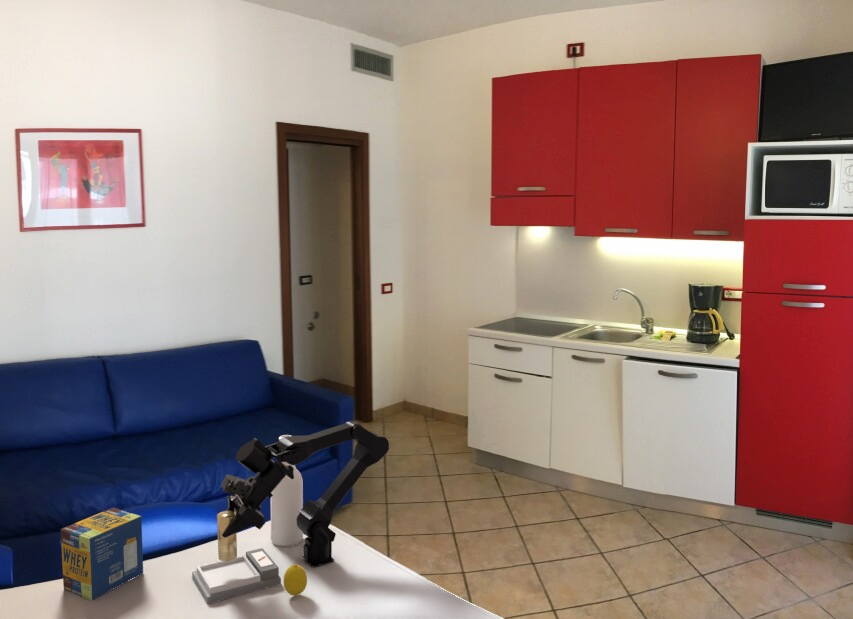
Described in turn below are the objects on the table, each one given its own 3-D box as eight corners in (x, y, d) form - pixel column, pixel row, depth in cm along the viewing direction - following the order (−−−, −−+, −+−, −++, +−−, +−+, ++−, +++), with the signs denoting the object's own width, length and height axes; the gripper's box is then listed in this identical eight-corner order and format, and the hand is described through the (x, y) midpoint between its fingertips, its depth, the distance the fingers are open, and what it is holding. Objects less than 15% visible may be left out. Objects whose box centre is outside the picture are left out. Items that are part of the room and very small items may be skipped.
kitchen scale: (192, 577, 180) (191, 561, 179) (262, 560, 189) (261, 545, 189) (207, 603, 168) (207, 586, 168) (281, 584, 178) (280, 567, 177)
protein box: (62, 590, 173) (59, 528, 171) (116, 563, 187) (114, 506, 185) (91, 601, 168) (88, 538, 166) (144, 573, 182) (142, 514, 180)
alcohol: (307, 543, 200) (307, 438, 196) (277, 550, 195) (276, 443, 192) (295, 531, 207) (295, 430, 204) (266, 538, 203) (265, 434, 199)
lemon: (302, 603, 169) (301, 571, 168) (279, 600, 170) (279, 568, 169) (310, 591, 174) (310, 560, 173) (288, 588, 176) (288, 557, 175)
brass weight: (233, 551, 180) (232, 509, 179) (239, 558, 176) (238, 515, 175) (216, 555, 178) (214, 513, 176) (221, 563, 174) (220, 519, 173)
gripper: (233, 452, 184) (190, 500, 180) (250, 476, 167) (203, 530, 164) (264, 476, 188) (223, 524, 185) (284, 502, 172) (238, 555, 169)
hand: (221, 532), depth 176 cm, fingers closed on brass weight, 4 cm apart
